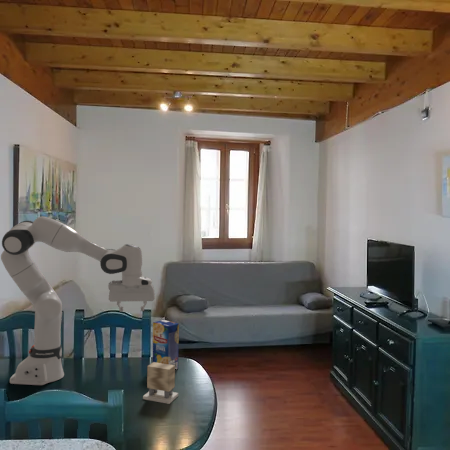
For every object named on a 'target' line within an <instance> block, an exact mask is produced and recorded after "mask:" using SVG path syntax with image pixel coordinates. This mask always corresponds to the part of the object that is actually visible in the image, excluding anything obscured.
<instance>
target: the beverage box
mask: <svg viewBox="0 0 450 450" xmlns="http://www.w3.org/2000/svg"><path fill="white" fill-rule="evenodd" d="M152 324H153V325H152V363H153V362H156V363H163V364H169V365H175V369H176V370H177V369H179V346H180V345H179V341H180V340H179V338H180V337H179V336H180V335H179V334H180V333H179V331H180V330H179V329H180V323H177V322H174V321H171V320H170V321H169V320H166V319H161V320H157V321H153V322H152Z"/></svg>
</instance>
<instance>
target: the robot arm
mask: <svg viewBox="0 0 450 450" xmlns="http://www.w3.org/2000/svg"><path fill="white" fill-rule="evenodd" d="M37 242H38V243H39V242H41V243H42V244H43V243H44V244H45V245H48V246H50V247H51V248H54V249H55V250H58V251H61V252H65V253H80V254H84V255H86V256H88V257H90V258H92V259H94V260H97V261H99V262H100V263H99V264H100V269H101V270H102V271H103V272H104V273H105V274H109V275H115V274H119V273H121V280H111V281H109V282H108V285H107V287H108V291H109V292H108V301H109V302H110V303H113V302H116V305H117V307H118V309H119V312H124V306H121V302H142V303H143V306H140V312H145V307H146V305H147V302H153V301H155V297H156V296H155V294H156V293H155V289H154V285H153V284H152V283H153V281H152V278H149V277H146V276H144V275H143V271H142V268H143V267H142V266H143V253H142V249H141V248H140V246H138V245H135V244H129V243H126V244H124V245H122V246H121V247H119V248H116V249H113V248H105V247H103V246H101V245H98V244H97V243H95V242H93V241H91V240H89V239H87V238H86V237H84V236H83V235H81V234H80V233H79V232H78V231H76V230H75V229H73V228H72V227H70V226H69V225H67V224H65V223H62V222H60V221H59V220H56V219H54V218H51V217H48V216H44V215H43V216H38V217H37V218H36V219H35V220H24V221H21V222H19V223H17V224H16V225H14V226H12V227H11V228H10V230H9V231H7V232H6V233H5V234H4V235H3V237H2V240H1V246H2V249H3V251H2V253H1V255H0V261H1V262H2V264H3V267H4V268H5V270H6V272H7V273H8V275H9V276H10V278H11V279H12V280H13V281H14V283H15V284H16V286H17V287H18V288H19V290H20V291H21V293H22V294H23V295H24V296H25V298H27V300H28V301H29V302H30V303H31V305H32V306H33V308H34V330H33V331H34V335H33V336H34V337H33V343H34V344H33V345H31V348H30V349H29V350H28V354H29V355H28V356H27V357H25V359H23V360H22V361H20V363H18V365H17V367H16V370H15V373H14V374H12V376H11V377H10V378H9V383H10V384H12V385H13V384H14V385H29V386H30V385H32V386H44V385H46V384H48V383H53V382H56V381H58V380H61V379H62V378H64V376H65V372H64V368H63V365H62V356H63V354H62V353H63V348H62V344H61V343H62V342H61V340H62V339H61V337H62V335H61V334H62V333H61V330H62V329H61V327H62V317H63V303H62V302H63V301H62V300H61V298H60V297H59V295H58V293H57V292H56V291H55V290H54V288H53V287H52V285H51V284H50V283H49V281H48V279H46V277H45V275H44V274H43V272H42V271H41V269H40V268H39V267H38V266H37V264H36V262H34V260H33V259H32V257H31V256H30V254H29V249H30V248H32V247H33V246H34V245H35V244H36V243H37Z"/></svg>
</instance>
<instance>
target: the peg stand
mask: <svg viewBox="0 0 450 450" xmlns="http://www.w3.org/2000/svg"><path fill="white" fill-rule="evenodd" d="M173 389H174V388H173ZM173 389H172V390H171V391H169V392H168V391H162V390H156V389H151V388H148V392H146V393H145V394H144V395H143V396H142V400H146V401H151V402H158V403H162V404H167V405H170V404H171V403H173V401H174V400H175V399H177V398H178V397H179V392H174V390H173Z"/></svg>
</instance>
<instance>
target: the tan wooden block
mask: <svg viewBox="0 0 450 450" xmlns="http://www.w3.org/2000/svg"><path fill="white" fill-rule="evenodd" d="M146 373H147V374H146V377H147V378H146V383H147V384H146V386H147V387H146V388H147V389H149V388H151V389H156V390H162V391H168V392H169V391H171V390H172V389H174V388H175V386H176V384H175V383H176V381H175V380H176V370H175V365H169V364H163V363H156V362H153V361H152V362H151V363H149V364H148V365H147V372H146Z"/></svg>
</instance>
